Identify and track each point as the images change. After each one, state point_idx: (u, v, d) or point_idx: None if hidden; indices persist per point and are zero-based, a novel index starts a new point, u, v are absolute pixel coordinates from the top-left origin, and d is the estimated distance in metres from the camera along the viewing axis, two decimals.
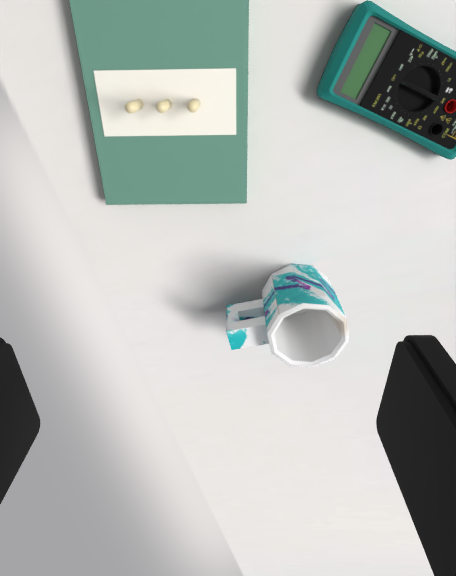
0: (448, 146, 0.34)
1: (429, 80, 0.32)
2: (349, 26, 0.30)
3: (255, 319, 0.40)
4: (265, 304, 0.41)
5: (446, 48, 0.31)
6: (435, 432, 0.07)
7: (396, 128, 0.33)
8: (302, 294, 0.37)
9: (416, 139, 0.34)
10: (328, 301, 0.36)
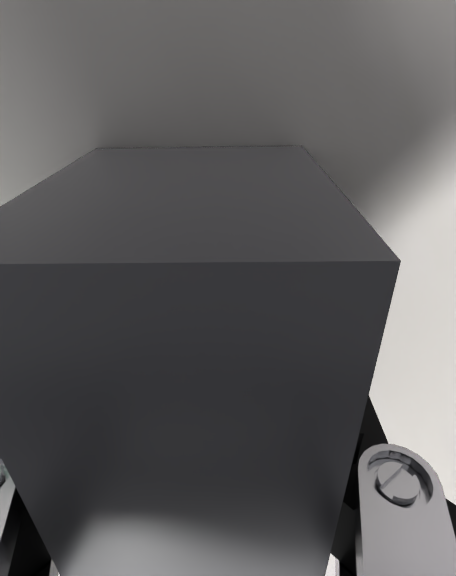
0: None
1: None
2: None
3: None
4: None
5: None
6: None
7: None
8: None
9: None
10: None
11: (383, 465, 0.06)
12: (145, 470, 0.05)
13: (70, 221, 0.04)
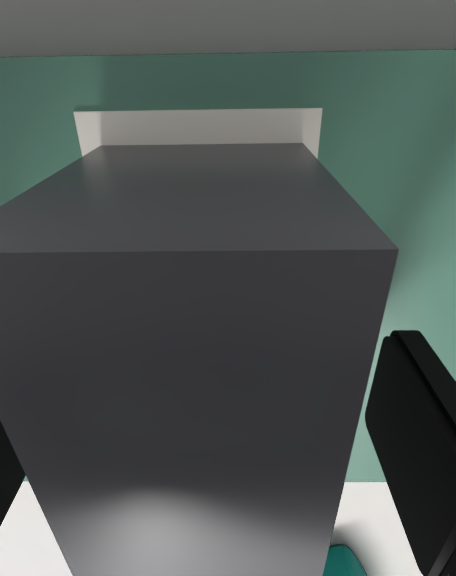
0: None
1: None
2: None
3: None
4: None
5: None
6: (417, 423, 0.07)
7: None
8: None
9: None
10: None
11: None
12: (151, 456, 0.05)
13: (79, 213, 0.04)
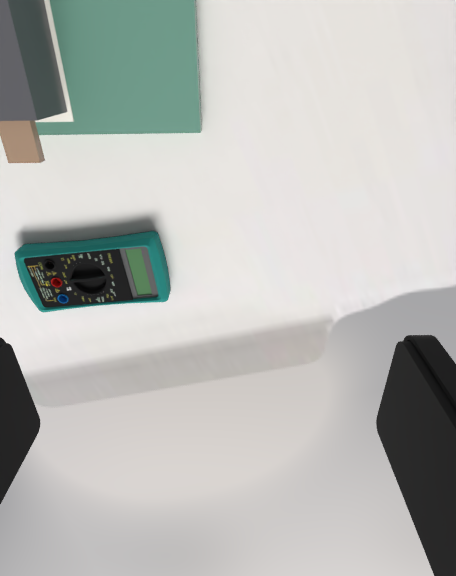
0: (28, 259, 0.37)
1: (87, 284, 0.39)
2: (166, 284, 0.39)
3: None
4: None
5: (95, 305, 0.40)
6: (435, 432, 0.07)
7: (78, 249, 0.37)
8: None
9: (55, 250, 0.37)
10: None
11: None
12: None
13: None
